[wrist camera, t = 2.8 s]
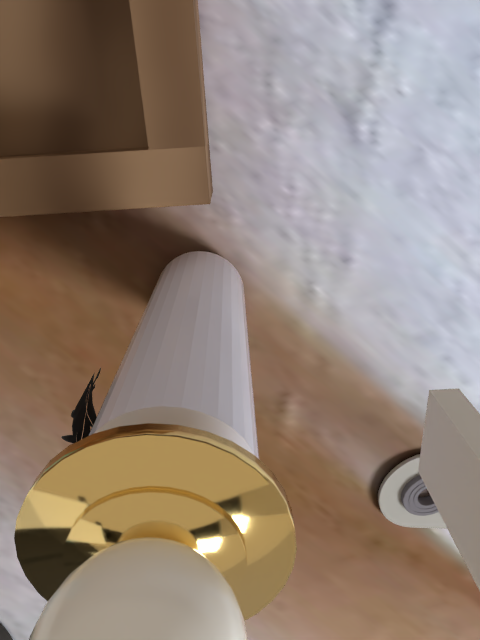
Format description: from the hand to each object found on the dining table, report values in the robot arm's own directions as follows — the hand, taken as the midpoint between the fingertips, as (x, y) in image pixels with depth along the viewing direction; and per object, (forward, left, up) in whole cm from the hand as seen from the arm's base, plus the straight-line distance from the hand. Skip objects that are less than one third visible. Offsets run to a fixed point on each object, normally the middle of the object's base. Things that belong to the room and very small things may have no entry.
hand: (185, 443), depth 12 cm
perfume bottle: (0, 0, -13) cm, 13 cm away
